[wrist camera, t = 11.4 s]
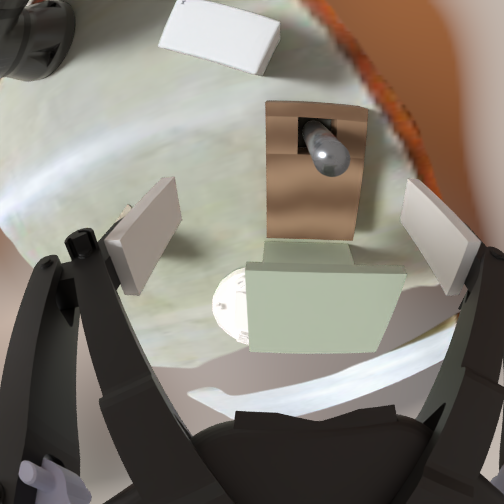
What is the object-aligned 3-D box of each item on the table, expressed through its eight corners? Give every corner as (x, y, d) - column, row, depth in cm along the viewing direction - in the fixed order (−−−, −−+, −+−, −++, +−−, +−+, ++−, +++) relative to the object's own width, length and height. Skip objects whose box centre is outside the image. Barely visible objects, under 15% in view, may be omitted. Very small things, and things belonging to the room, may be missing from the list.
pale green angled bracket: (260, 186, 39) (244, 270, 23) (358, 190, 38) (407, 273, 22) (261, 252, 45) (249, 351, 29) (348, 254, 44) (375, 351, 28)
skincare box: (187, 54, 29) (154, 47, 20) (205, 13, 26) (179, -8, 17) (262, 79, 31) (255, 76, 22) (282, 37, 27) (283, 19, 18)
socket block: (266, 100, 32) (265, 102, 29) (359, 106, 31) (368, 109, 28) (268, 224, 42) (266, 237, 39) (347, 226, 41) (352, 240, 38)
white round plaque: (241, 242, 45) (238, 252, 43) (342, 288, 48) (345, 300, 46) (201, 317, 56) (197, 327, 53) (286, 349, 59) (286, 360, 56)
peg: (301, 143, 35) (312, 176, 23) (301, 119, 33) (314, 140, 22) (325, 144, 35) (348, 178, 23) (326, 121, 33) (351, 142, 21)
